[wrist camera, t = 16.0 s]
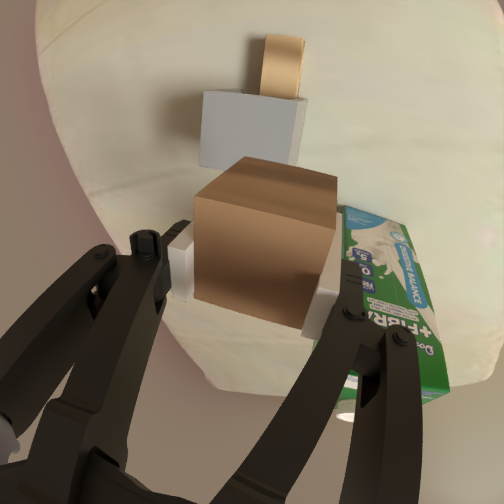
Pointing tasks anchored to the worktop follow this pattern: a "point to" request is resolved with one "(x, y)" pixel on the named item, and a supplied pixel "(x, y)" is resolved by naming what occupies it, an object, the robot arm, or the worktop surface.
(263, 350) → the worktop surface
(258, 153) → the tunnel
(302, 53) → the tan long bar
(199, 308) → the worktop surface
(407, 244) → the milk carton
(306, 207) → the block
